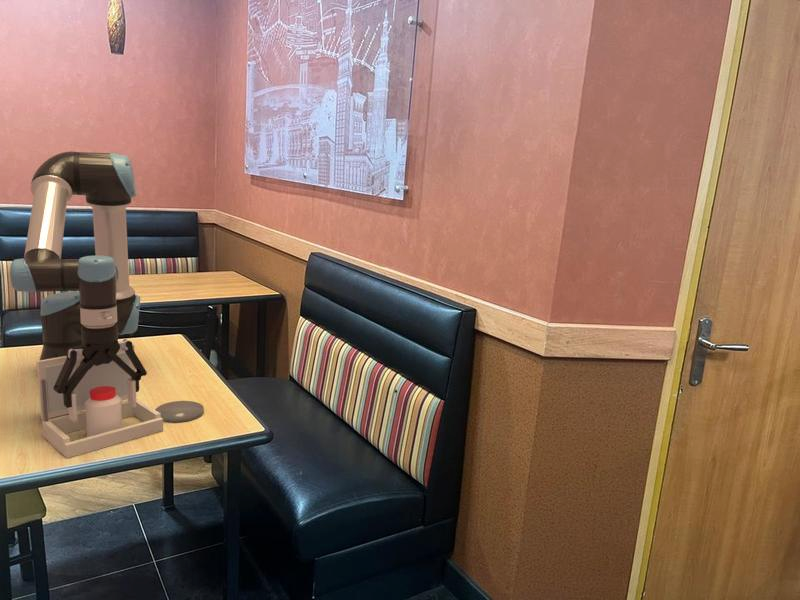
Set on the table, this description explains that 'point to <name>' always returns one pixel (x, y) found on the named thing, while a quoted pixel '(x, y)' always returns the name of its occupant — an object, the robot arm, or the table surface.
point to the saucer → (180, 411)
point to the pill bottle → (103, 411)
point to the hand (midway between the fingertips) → (103, 412)
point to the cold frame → (55, 406)
